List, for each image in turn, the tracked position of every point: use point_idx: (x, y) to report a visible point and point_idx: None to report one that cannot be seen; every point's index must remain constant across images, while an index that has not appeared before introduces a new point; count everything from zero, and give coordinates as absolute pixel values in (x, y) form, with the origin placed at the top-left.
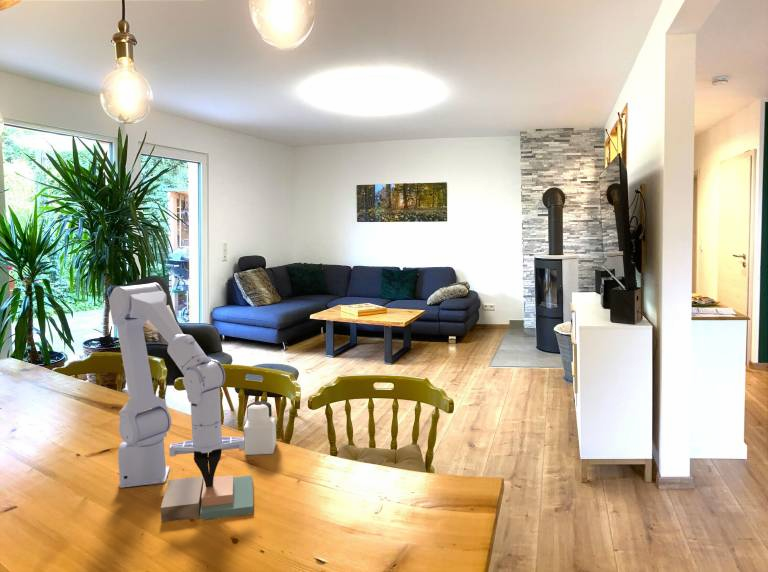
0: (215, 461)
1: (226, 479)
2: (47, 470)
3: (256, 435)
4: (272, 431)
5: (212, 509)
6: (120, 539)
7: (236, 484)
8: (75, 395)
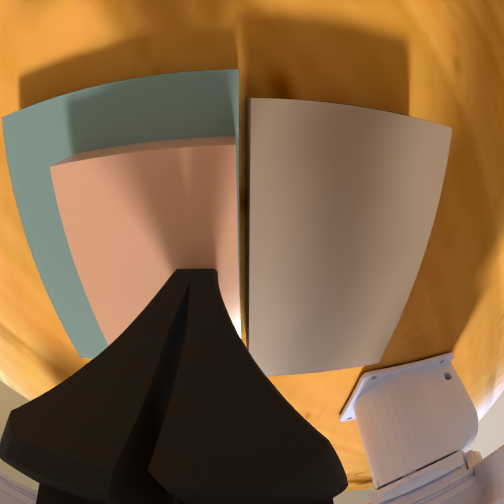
0: (54, 409)
1: None
2: (489, 386)
3: None
4: None
5: (169, 93)
6: (499, 71)
7: None
8: None
